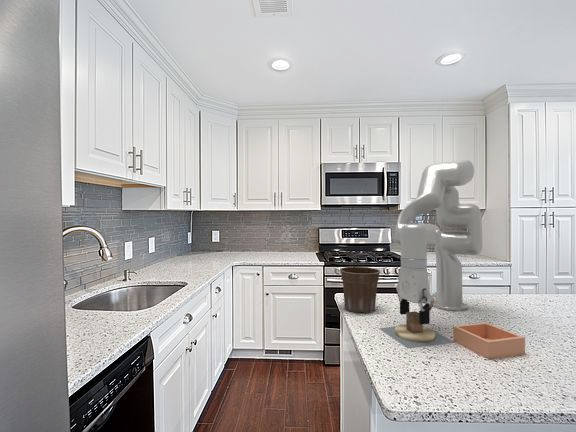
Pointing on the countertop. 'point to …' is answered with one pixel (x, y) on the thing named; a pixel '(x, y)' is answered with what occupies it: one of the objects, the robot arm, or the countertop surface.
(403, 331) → the lid
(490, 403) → the countertop surface
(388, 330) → the mat
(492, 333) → the salmon open box
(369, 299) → the plant pot
